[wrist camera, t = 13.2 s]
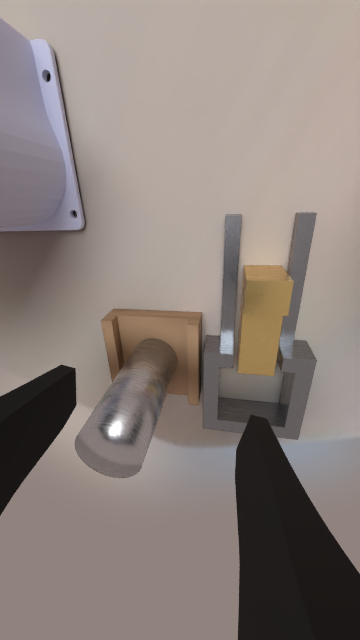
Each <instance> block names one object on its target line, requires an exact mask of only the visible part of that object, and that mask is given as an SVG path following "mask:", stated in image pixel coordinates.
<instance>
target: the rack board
mask: <svg viewBox="0 0 360 640" xmlns="http://www.w3.org/2000/svg"><path fill="white" fill-rule="evenodd" d="M101 323H102V329H103V334H104V340H105V345H106V350H107V356H108V361H109V367H110V372H111V378H112V382H113V381H114V379H115V378H116V376H117V375H118V373H119V372H120V370H121V369H122V367H123V366H124V364H125V363H126V361H127V359H128V358H129V356H130V355H131V353H132V352H133V350H134V349H135V347H136V346H137V345H138V343H140V342H141V341H142V340H145V339H149V338H155V339H160V340H163V341H165V342H166V343H168V344H169V345H170V346H171V347H172V348H173V349H174V351H175V353H176V356H177V365H176V368H175V371H174V373H173V376H172V379H171V382H170V385H169V388H168V391H167V393H170V394H180V395H188V404H191V405H199V399H200V393H201V363H202V312H178V311H154V310H130V309H113V310H112V311H111V312H110V313H109V314H108V315H107V316H105V317H104V318H103V319H102V320H101Z"/></svg>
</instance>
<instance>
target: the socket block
mask: <svg viewBox="0 0 360 640" xmlns="http://www.w3.org/2000/svg"><path fill="white" fill-rule="evenodd" d="M316 214H317V213H313V212H311V213H296V218H295V225H294V231H293V238H292V245H291V251H290V258H289V265H288V271H287V273H288V274H289V276H290V277H291V278H292V280H293V281H294V283H293V289H292V295H291V301H290V307H289V313H288V316H283V320H282V327H281V333H280V340H279V346H278V353H277V359H278V362H279V366H280V369H281V372H285V373H284V378H283V384H282V390H281V395H280V401H279V403H269V402H259V401H248V400H238V399H228V398H219V376H220V367H225V368H233V337H234V322H235V307H236V291H237V276H238V261H239V245H240V230H241V214H234V215H226V226H225V250H224V275H223V299H222V323H221V336H212V335H207V337H206V342H205V348H204V377H203V428H205V429H213V430H221V431H230V432H238V433H243V432H244V430H245V427H246V425H247V423H248V420H249V418H250V415H255V416H259V417H263V418H266V419H267V420H268V421H269V423H270V425H271V427H272V429H273V432H274V434H275V436H276V437H279V438H287V439H296V440H298V438H299V433H300V429H301V425H302V421H303V417H304V412H305V408H306V404H307V400H308V395H309V391H310V387H311V383H312V378H313V374H314V370H315V366H316V361H317V360H316V358H315V356H314V354H313V352H312V351H311V349H310V347H309V345H308V343H307V341H300V340H294V335H295V330H296V324H297V319H298V313H299V308H300V302H301V297H302V291H303V286H304V280H305V275H306V269H307V264H308V258H309V253H310V247H311V242H312V236H313V231H314V225H315V220H316Z"/></svg>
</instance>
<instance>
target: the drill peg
mask: <svg viewBox="0 0 360 640" xmlns="http://www.w3.org/2000/svg"><path fill="white" fill-rule="evenodd" d="M176 365H177V356H176V353H175V351H174V349H173V348H172V347H171V346H170V345H169V344H168V343H166V342H165V341H163V340H160V339H155V338H149V339H145V340H142V341H141V342H140V343H138V345H137V346H136V347H135V349H134V350H133V352H132V353H131V355H130V356H129V358H128V359H127V361H126V363H125V364H124V366H123V367H122V369H121V370H120V372H119V373H118V375H117V376H116V378H115V379H114V381H113V382H112V384H111V385H110V387H109V388H108V390H107V391H106V393H105V394H104V396H103V397H102V399H101V400H100V402H99V403H98V405H97V406H96V408H95V409H94V411H93V412H92V414H91V416H90V417H89V419H88V420H87V422H86V423H85V425H84V426H83V428H82V429H81V431H80V432H79V434H78V435H77V437H76V439H75V449H76V452H77V454H78V455H79V457H80V458H81V459H82V461H83V462H84V463H85V464H86V465H88V466H89V467H90V468H92V469H93V470H95V471H97V472H99V473H101V474H103V475H106V476H110V477H115V478H127V477H131V476H133V475H135V474H137V473H138V472H139V471H140V469H141V467H142V464H143V461H144V458H145V455H146V453H147V450H148V447H149V444H150V441H151V438H152V435H153V432H154V429H155V426H156V423H157V420H158V417H159V415H160V412H161V409H162V406H163V403H164V400H165V397H166V394H167V391H168V388H169V385H170V382H171V379H172V376H173V373H174V371H175V368H176Z"/></svg>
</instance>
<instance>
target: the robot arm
mask: <svg viewBox="0 0 360 640" xmlns="http://www.w3.org/2000/svg"><path fill="white" fill-rule="evenodd" d="M48 73H50V74H51V79H50V81H49V82H48V81H47V75H48ZM74 210H75V211H76V212H77V217H76V218H75V217H74V215H73V212H74ZM84 225H85V221H84V216H83V210H82V205H81V199H80V193H79V188H78V182H77V177H76V171H75V166H74V160H73V155H72V149H71V144H70V138H69V133H68V127H67V122H66V116H65V111H64V105H63V100H62V94H61V88H60V83H59V77H58V72H57V66H56V61H55V55H54V51H53V48H52V47H51V45H50V44H49V43H48V42H46V41H45V40H44V39H35V40H28V39H27V38H26V37H24V36H23V35H22V34H20V33H19V32H18V31H17V30H15V29H14V28H13V27H12V26H10V25H9V24H8V23H6V22H5V21H4V20H3V19H1V18H0V231H53V230H80V229H82V228H83V227H84ZM75 406H76V372H75V368H72V367H68V366H64V365H60V366H58V367H56V368H54V369H52V370H50V371H49V372H47V373H45V374H43V375H41V376H39V377H37V378H35V379H34V380H32V381H30V382H28V383H26V384H24V385H22V386H20V387H18V388H17V389H14V390H12V391H10V392H9V393H7V394H5V395H3V396H0V515H1V514H2V512H3V510H4V509H5V507H6V506H7V504H8V503H9V501H10V499H11V497H12V496H13V495H14V493H15V492H16V490H17V489H18V488H19V486H20V485H21V483H22V482H23V480H24V479H25V478H26V477H27V475H28V474H29V472H30V471H31V470H32V469H33V467H34V466H35V465H36V463H37V462H38V461H39V459H40V458H41V457H42V455H43V454H44V453H45V451H46V450H47V449H48V447H49V446H50V445H51V443H52V442H53V441H54V439H55V438H56V437H57V435H58V434H59V433H60V431H61V430H62V429H63V427H64V425H65V424H66V422H67V420H68V419H69V417H70V415H71V414H72V412H73V410H74V408H75ZM235 484H236V502H237V517H238V535H239V554H240V578H239V581H240V583H239V623H238V640H360V574H359V572H358V571H357V570H356V568H355V567H354V565H353V564H352V563H351V561H350V560H349V558H348V557H347V556H346V554H345V553H344V551H343V550H342V548H341V547H340V545H339V544H338V542H337V541H336V540H335V538H334V536H333V535H332V534H331V532H330V531H329V529H328V527H327V526H326V524H325V523H324V521H323V520H322V518H321V517H320V515H319V513H318V512H317V510H316V508H315V507H314V505H313V503H312V502H311V500H310V498H309V497H308V495H307V493H306V492H305V490H304V488H303V487H302V485H301V483H300V481H299V479H298V478H297V476H296V474H295V472H294V470H293V468H292V467H291V465H290V463H289V461H288V459H287V457H286V456H285V453H284V452H283V450H282V448H281V446H280V444H279V442H278V440H277V438H276V436H275V434H274V432H273V429H272V427H271V425H270V423H269V421H268V420H267V419H266V418H263V417H259V416H255V415H250V418H249V420H248V423H247V425H246V427H245V430H244V432H243V435H242V437H241V439H240V442H239V444H238V447H237V450H236V468H235Z"/></svg>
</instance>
